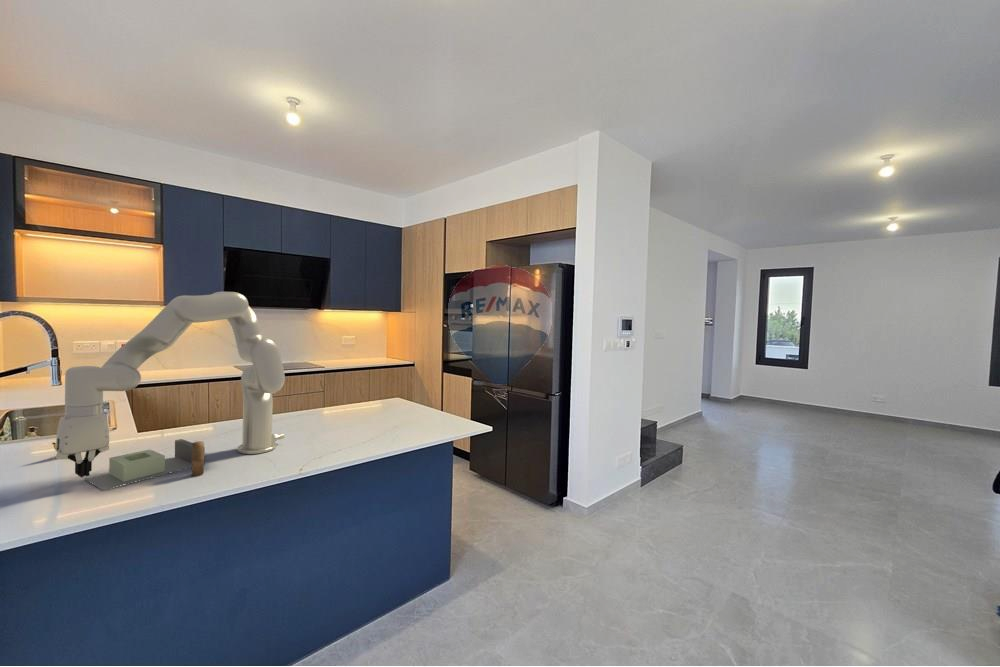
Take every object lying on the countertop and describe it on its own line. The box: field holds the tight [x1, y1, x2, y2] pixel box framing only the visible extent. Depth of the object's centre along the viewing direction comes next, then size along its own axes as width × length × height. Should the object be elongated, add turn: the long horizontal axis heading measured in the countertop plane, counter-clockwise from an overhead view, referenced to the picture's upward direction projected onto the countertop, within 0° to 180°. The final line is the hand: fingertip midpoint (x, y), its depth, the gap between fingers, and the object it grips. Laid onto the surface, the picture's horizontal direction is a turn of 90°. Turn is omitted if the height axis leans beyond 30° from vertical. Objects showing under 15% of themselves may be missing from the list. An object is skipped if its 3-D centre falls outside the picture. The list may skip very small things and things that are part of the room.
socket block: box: [108, 448, 166, 482], centre depth 128 cm, size 10×10×5 cm
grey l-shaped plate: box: [85, 438, 206, 491], centre depth 130 cm, size 25×15×6 cm, turn 151°
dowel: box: [191, 441, 205, 477], centre depth 130 cm, size 3×3×10 cm
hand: (83, 475), depth 117 cm, fingers closed
